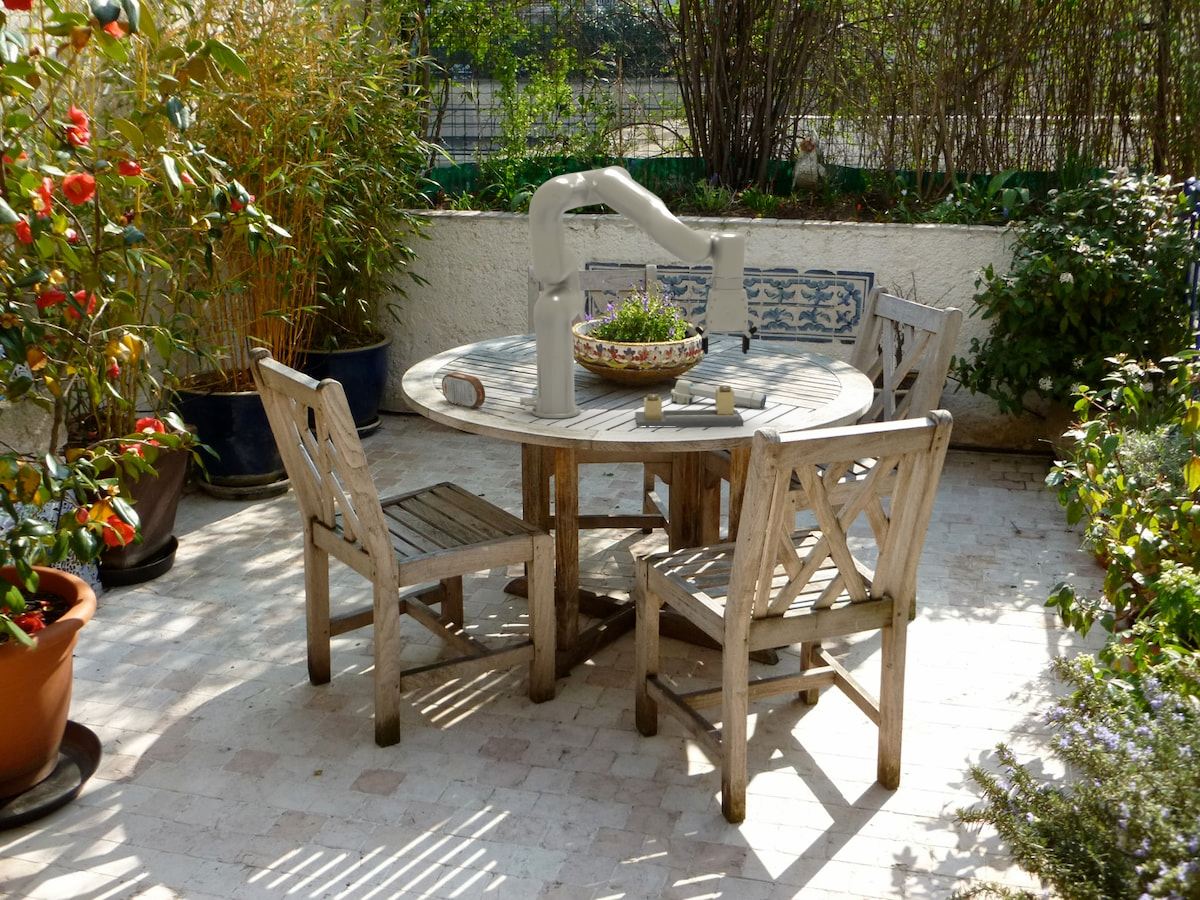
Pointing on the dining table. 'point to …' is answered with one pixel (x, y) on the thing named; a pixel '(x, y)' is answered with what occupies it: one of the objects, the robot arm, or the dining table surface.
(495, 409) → the dining table surface
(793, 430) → the dining table surface
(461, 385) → the tin
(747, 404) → the grey flashlight
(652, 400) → the fixed leg
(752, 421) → the dining table surface
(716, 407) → the block
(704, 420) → the bolt plate
